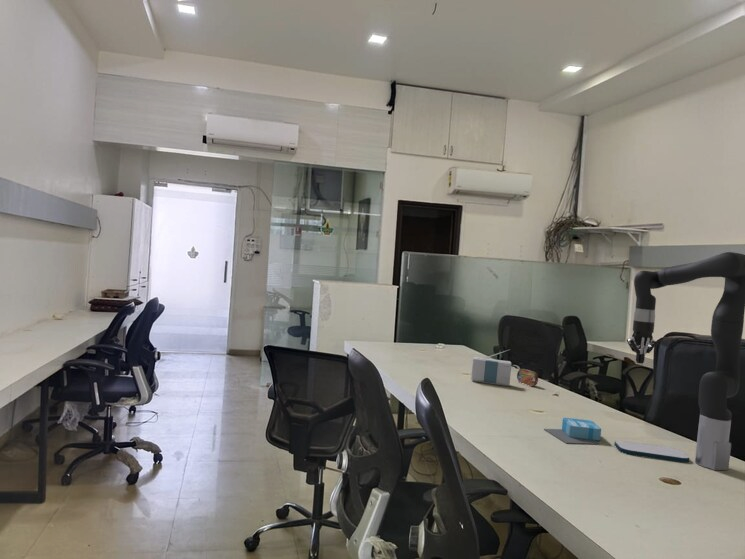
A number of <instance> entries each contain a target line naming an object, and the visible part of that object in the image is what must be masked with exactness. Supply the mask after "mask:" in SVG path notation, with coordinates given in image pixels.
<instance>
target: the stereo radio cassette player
mask: <svg viewBox="0 0 745 559" xmlns="http://www.w3.org/2000/svg"><path fill="white" fill-rule="evenodd" d="M510 350H511V349H507V350H503V351H502V352H498V353H495V354H492V355H488V356H486V357H480V356H479V357H478V356H475V357H473V359H472V364H471V365H472V366H471V374H470V375H471V377H470V379H471V381H472V382H478V383H483V384H484V383H485V384H492V385H498V386H502V387H503V386H504V387H508V386H510V383H511V382H510V381H511V372H512V362H511V361H510V360H501V359H494V358H491V357H494V356H496V355H499V354H502V353H505V352H507V351H510Z"/></svg>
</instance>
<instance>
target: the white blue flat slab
mask: <svg viewBox="0 0 745 559" xmlns="http://www.w3.org/2000/svg"><path fill="white" fill-rule="evenodd" d="M615 446H616V447H615ZM614 447H615V448H616V449H617V450H618V451H619V452H620V453H622V452H623V453H622V454H625V453H626V454H625V455H629V454H630V455H632V456H636V455H637V457H642V456H644V458H649V457H650V459H656V460H657V459H658V460H665V461H670V462H678V463H689V462H690V457H689V455H687V454H686V453H685V452H684V451H682V450H680V449H678V448H674V447H669V446H663V445H654V444H648V443H642V442H641V443H640V442H633V441H626V440H615V441H614Z"/></svg>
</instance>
